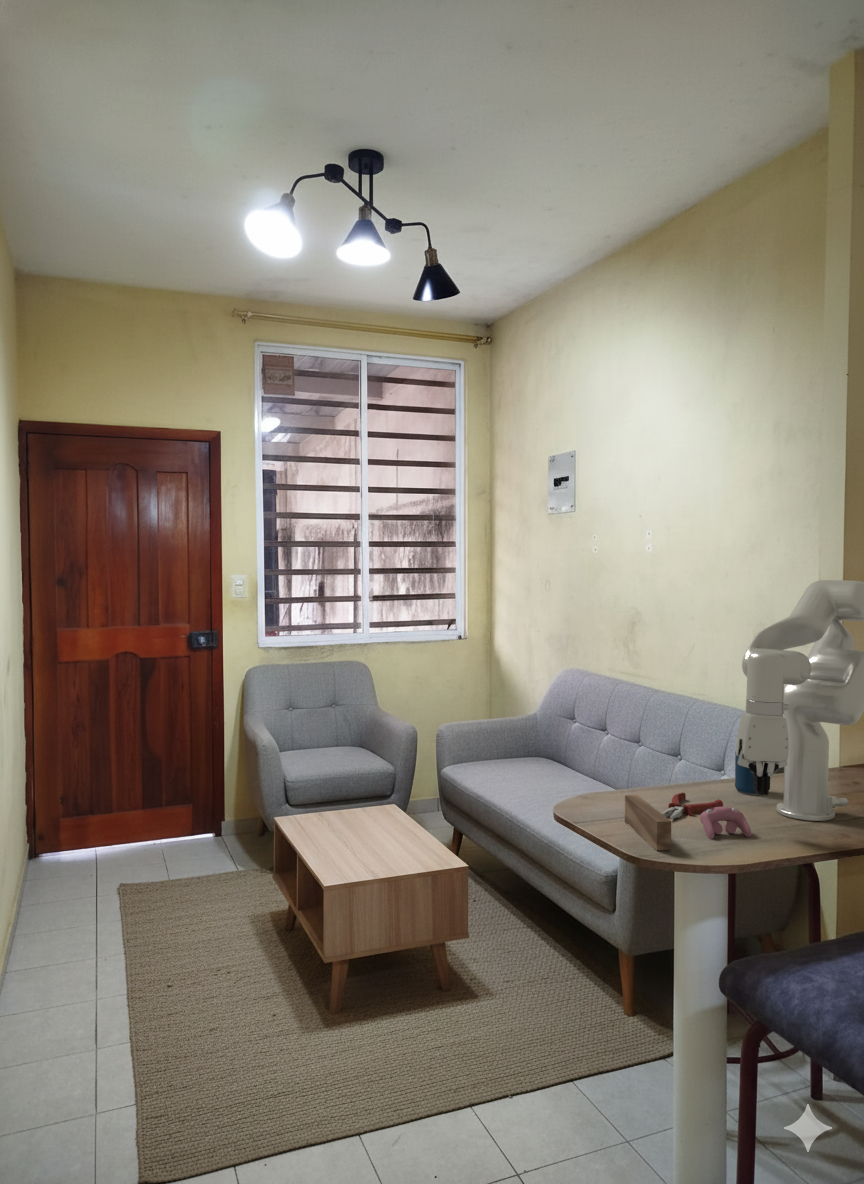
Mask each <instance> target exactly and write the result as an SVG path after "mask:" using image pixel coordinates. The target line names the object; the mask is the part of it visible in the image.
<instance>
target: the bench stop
mask: <svg viewBox="0 0 864 1184" xmlns="http://www.w3.org/2000/svg"><path fill="white" fill-rule="evenodd" d="M624 822H625V824H627V825H628V824H629V825H630V826H631V827H632V828H633V829H634V830H635V831H636V832H637V834H638V836H640V837H641V838H642V839H643V840H644V839H645V840H646V841H647V842H648V843H649V844H650V845H649V846H650V847H652V848H653V847H654V848H655V849H656V850H659V851H658V852H661V851H660V850H671V851H672V820H671V819H670V818H669V817H665V816H664V815H663V814H662V813H661V812H660V811H659V810H658V809H656V808H655V807H654V806H652V805H651V804H650V803H649V802H647V801H646V800H645V799H643V798H642V797H641V796H640V795H638V794H632V795H631V794H628V795H627V794H625V795H624ZM629 825H628V826H629ZM630 826H629V827H630ZM631 827H630V828H631ZM632 828H631V829H632ZM633 829H632V830H633ZM634 830H633V831H634ZM635 831H634V832H635ZM636 832H635V833H636ZM645 840H644V841H645ZM646 841H645V842H646ZM647 842H646V843H647ZM648 843H647V844H648ZM654 848H653V849H654ZM655 849H654V850H655ZM656 850H655V851H656Z"/></svg>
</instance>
